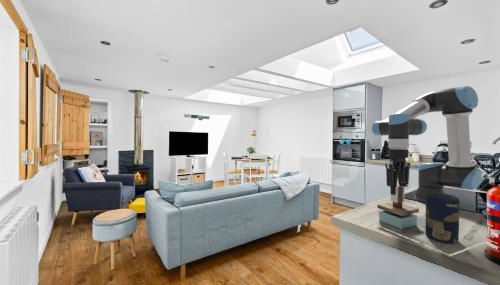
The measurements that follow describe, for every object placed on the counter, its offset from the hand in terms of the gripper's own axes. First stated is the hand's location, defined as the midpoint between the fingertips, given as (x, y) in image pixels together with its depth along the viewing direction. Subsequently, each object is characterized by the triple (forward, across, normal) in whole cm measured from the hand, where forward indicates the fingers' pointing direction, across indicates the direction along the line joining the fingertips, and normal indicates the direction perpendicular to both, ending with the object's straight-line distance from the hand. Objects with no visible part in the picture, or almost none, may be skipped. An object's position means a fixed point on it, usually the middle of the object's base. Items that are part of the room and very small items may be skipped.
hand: (397, 201), depth 97 cm
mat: (+10, -11, +3) cm, 15 cm away
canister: (+11, -1, +16) cm, 19 cm away
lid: (+4, 0, 0) cm, 4 cm away
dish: (+10, 0, 0) cm, 10 cm away
